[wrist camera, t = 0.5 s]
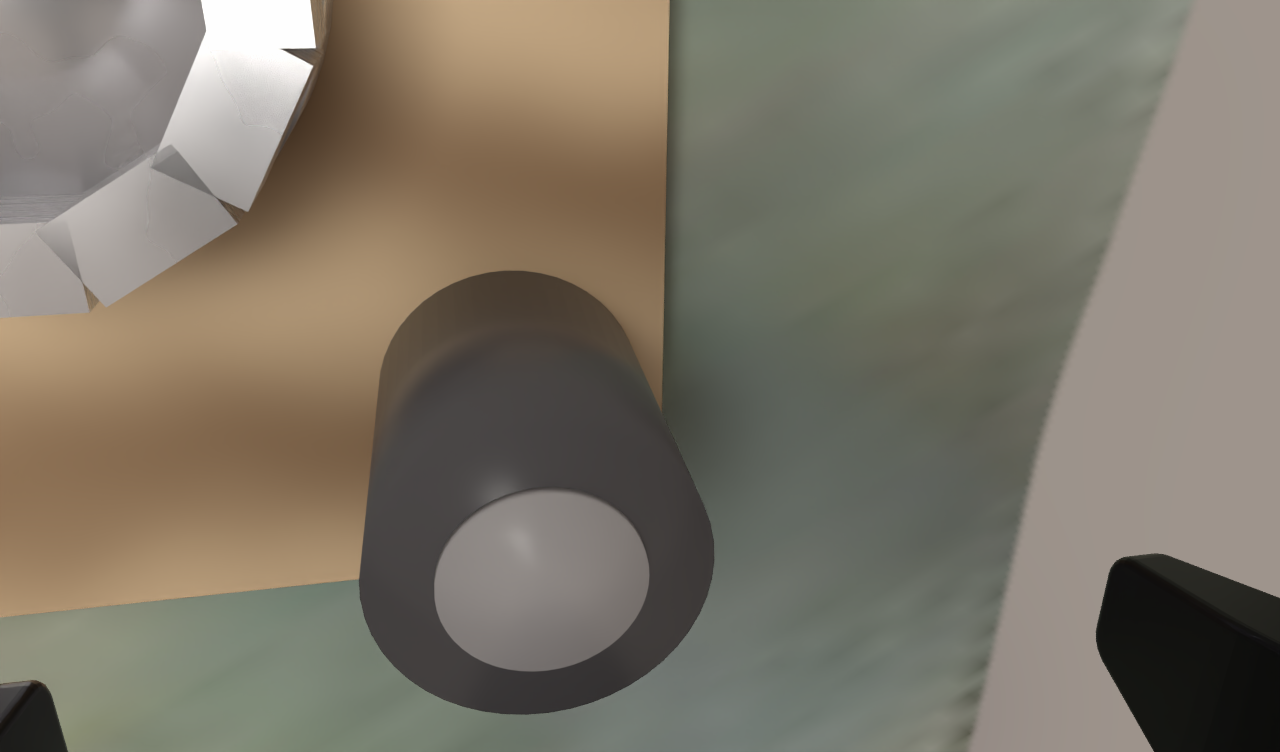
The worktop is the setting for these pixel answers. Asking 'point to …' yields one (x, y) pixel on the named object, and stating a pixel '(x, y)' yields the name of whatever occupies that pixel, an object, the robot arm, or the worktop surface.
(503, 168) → the board
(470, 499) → the cap
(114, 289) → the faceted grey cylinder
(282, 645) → the worktop surface
